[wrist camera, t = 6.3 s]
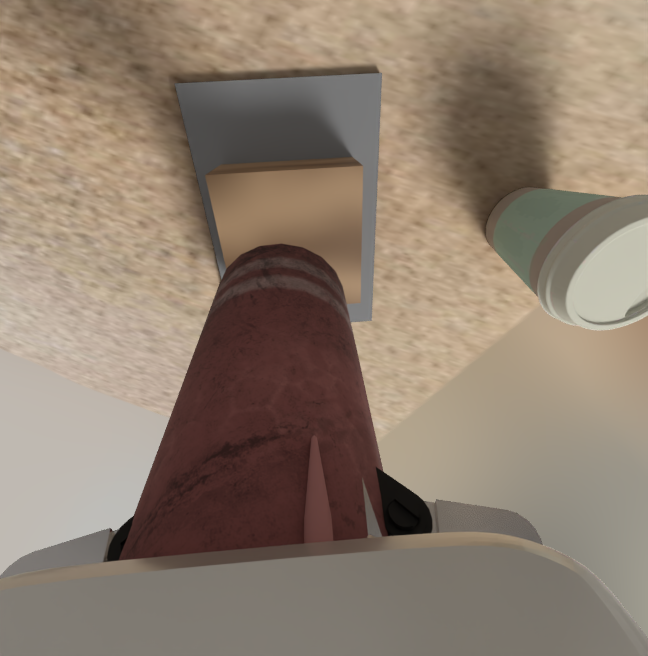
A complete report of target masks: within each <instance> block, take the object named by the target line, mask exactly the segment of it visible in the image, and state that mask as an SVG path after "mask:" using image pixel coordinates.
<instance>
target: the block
mask: <svg viewBox="0 0 648 656" xmlns="http://www.w3.org/2000/svg"><path fill="white" fill-rule="evenodd" d="M205 177H206V181H207V186H208V190H209V195H210V199H211V204H212V208H213V212H214V217H215V221H216V226H217V230H218V235H219V239H220V243H221V248H222V252H223V257H224V261H225V266H226V269H227V267H228V266H230V265H231V264H232V263H233V262H234V261H235V260H236V259H237V258H238V257H239V256H240V255H241V254H243V253H245V252H248V251H250V250H252V249H254V248H256V247H258V246H264V245H272V244H281V243H282V244H287V245H293V246H299V247H303V248H305V249H307V250H309V251H311V252H313V253H315V254H317V255H319V256H321V257H322V258H323V259H324V260H325V261H326V262H327V263H328V264H329V265H330V266H331V267H332V268H333V269H334V270H335V271H336V273H337V275H338V277H339V280H340V282H341V284H342V286H343V290H344V294H345V299H346V303H347V304H355V303H361V252H362V200H363V165H362V164H360V163H359V162H358V161H357V160H356V159H354V158H353V157H342V158H325V159H308V160H291V161H273V162H256V163H239V164H222V165H220V166H218V167H217V168H215V169H214V170H212V171H211V172H209V173H208V174H206V175H205Z"/></svg>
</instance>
